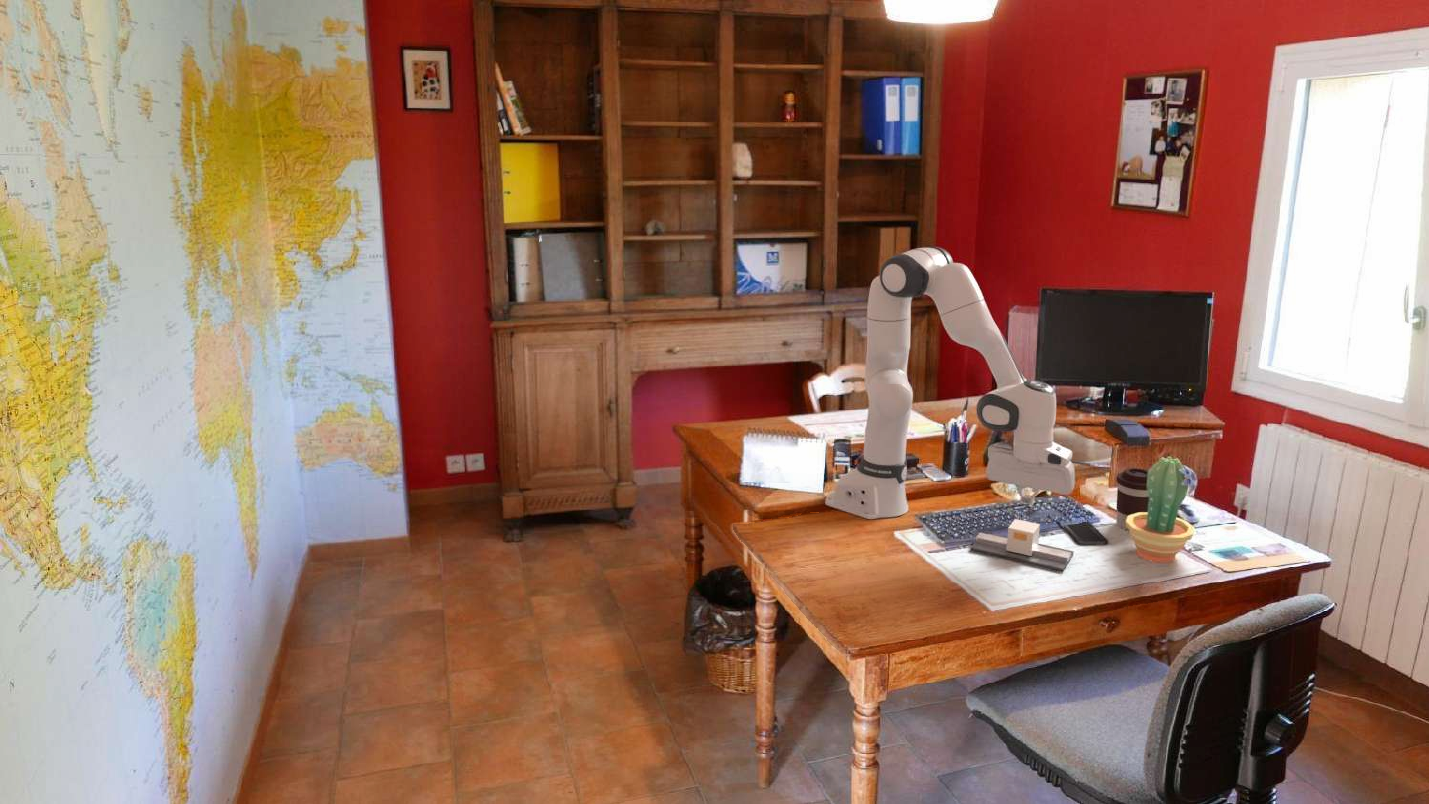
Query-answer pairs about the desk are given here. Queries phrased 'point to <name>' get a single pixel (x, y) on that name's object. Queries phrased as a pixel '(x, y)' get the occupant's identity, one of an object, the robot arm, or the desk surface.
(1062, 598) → the desk surface
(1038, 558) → the rail
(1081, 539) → the phone
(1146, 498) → the coffee cup
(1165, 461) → the potted cactus
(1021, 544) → the block
